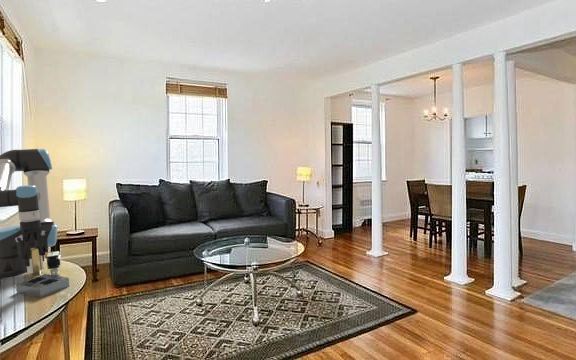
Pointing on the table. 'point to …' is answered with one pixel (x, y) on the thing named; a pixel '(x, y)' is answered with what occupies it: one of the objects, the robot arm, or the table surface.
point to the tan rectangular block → (35, 261)
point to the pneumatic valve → (54, 262)
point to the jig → (42, 285)
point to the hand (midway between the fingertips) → (35, 270)
